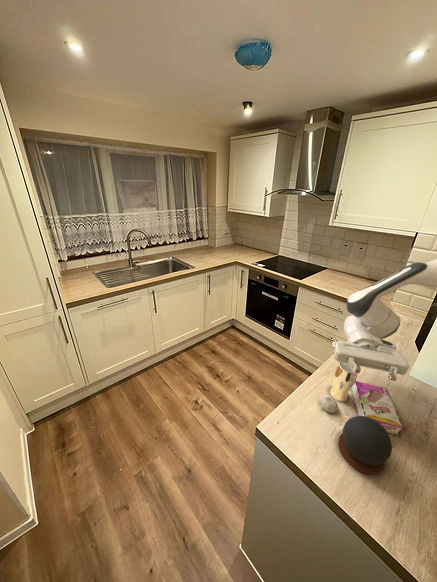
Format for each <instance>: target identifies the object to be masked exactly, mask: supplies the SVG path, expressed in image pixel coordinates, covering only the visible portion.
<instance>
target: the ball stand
mask: <svg viewBox="0 0 437 582" xmlns="http://www.w3.org/2000/svg"><path fill="white" fill-rule="evenodd" d="M391 439H392V438H391V437H390V434H389V432H387V431H386V430H385V429H384V427H383V426H382V425H381V424H380V423H378V422H377V421H375V420H374V419H372V418H369V417H366V416H359V415H356V416H352V417H350V418H349V419H347V420H346V422H345V423H344V425H343V427H342V433H341V434H340V435H339V437H338V441H337V447H338V451H339V453H340V455H341V456H342V458H343V459H344V460H345V461H346V463H347V464H348V465H349V466H351V468H353V469H354V470H356V471H358V472H360V473H361V474H364V475H368V476H375V475H379V474H380V473H381V472H382V471H383V470H384V468H385V464H386V462H387V461H388V460H389V459H390V457H391V455H392V451H393V443H392V440H391Z"/></svg>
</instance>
